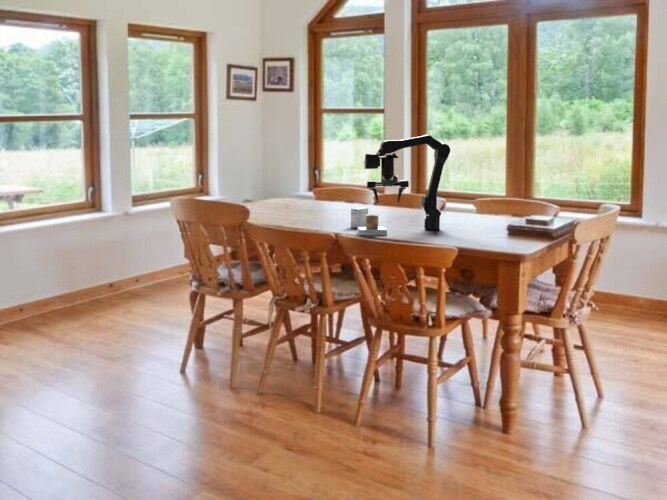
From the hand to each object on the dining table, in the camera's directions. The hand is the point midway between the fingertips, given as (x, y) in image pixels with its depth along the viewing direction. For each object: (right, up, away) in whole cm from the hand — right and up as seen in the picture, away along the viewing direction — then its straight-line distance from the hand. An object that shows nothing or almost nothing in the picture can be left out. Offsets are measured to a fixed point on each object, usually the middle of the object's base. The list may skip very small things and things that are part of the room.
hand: (387, 202), depth 348 cm
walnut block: (-8, -12, -8) cm, 16 cm away
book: (-8, -15, -7) cm, 18 cm away
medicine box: (-12, -11, +13) cm, 21 cm away
